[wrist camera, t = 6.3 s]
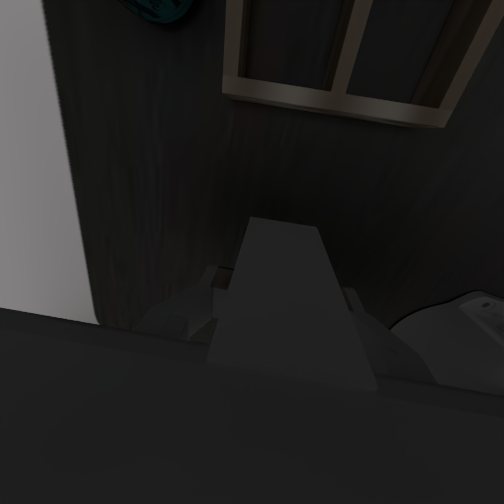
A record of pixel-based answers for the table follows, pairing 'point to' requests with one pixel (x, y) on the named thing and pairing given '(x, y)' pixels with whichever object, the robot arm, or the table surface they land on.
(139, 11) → the beverage bottle
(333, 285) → the plug
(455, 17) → the socket block
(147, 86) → the table surface
